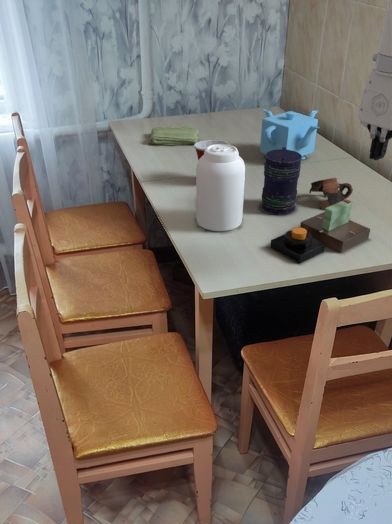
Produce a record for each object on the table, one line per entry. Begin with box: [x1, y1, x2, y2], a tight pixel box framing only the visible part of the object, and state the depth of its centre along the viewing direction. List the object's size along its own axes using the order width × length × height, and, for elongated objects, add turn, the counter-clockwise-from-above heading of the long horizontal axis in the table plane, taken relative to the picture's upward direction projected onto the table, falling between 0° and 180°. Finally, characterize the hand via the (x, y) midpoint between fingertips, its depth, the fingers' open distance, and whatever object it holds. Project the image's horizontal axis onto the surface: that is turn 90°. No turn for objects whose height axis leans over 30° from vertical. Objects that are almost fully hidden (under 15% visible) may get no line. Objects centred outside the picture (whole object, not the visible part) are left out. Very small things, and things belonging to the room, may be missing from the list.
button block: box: [269, 229, 326, 264], centre depth 135 cm, size 10×9×4 cm
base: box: [299, 211, 371, 253], centre depth 141 cm, size 14×12×3 cm
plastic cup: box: [193, 139, 231, 162], centre depth 165 cm, size 11×11×12 cm
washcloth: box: [149, 126, 200, 146], centre depth 198 cm, size 13×18×3 cm
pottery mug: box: [308, 177, 354, 210], centre depth 157 cm, size 12×10×8 cm
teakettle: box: [259, 108, 321, 160], centre depth 181 cm, size 19×19×15 cm
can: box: [195, 144, 246, 232], centre depth 142 cm, size 12×12×20 cm
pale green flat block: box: [322, 198, 353, 231], centre depth 138 cm, size 8×2×6 cm, turn 130°
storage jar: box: [260, 147, 302, 216], centre depth 149 cm, size 10×10×18 cm
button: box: [291, 226, 307, 240], centre depth 134 cm, size 4×4×2 cm
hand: (376, 157), depth 117 cm, fingers closed
